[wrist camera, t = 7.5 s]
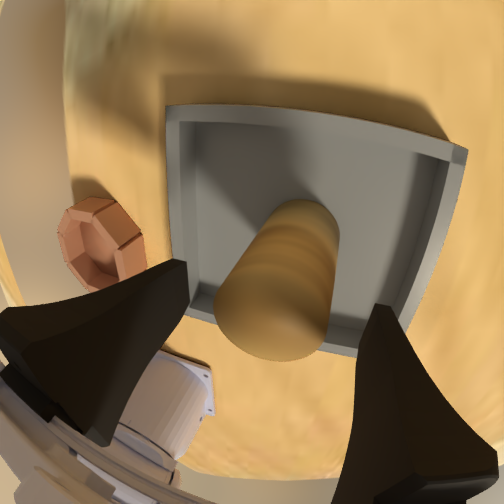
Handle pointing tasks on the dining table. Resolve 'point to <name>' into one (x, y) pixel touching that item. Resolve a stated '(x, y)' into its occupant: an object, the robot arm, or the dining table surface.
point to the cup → (101, 243)
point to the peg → (282, 284)
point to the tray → (315, 189)
